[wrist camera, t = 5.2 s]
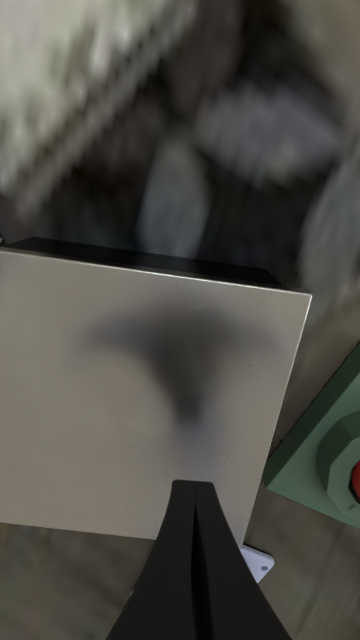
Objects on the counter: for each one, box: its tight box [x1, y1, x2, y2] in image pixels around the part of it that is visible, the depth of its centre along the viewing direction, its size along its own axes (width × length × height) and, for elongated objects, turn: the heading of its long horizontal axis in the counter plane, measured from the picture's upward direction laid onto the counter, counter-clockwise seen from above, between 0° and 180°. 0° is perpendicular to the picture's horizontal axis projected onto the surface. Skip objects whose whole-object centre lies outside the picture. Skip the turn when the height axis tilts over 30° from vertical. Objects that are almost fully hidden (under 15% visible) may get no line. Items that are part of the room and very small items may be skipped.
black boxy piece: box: [1, 237, 282, 286], centre depth 18 cm, size 12×13×6 cm
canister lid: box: [0, 247, 313, 549], centre depth 14 cm, size 13×13×1 cm
